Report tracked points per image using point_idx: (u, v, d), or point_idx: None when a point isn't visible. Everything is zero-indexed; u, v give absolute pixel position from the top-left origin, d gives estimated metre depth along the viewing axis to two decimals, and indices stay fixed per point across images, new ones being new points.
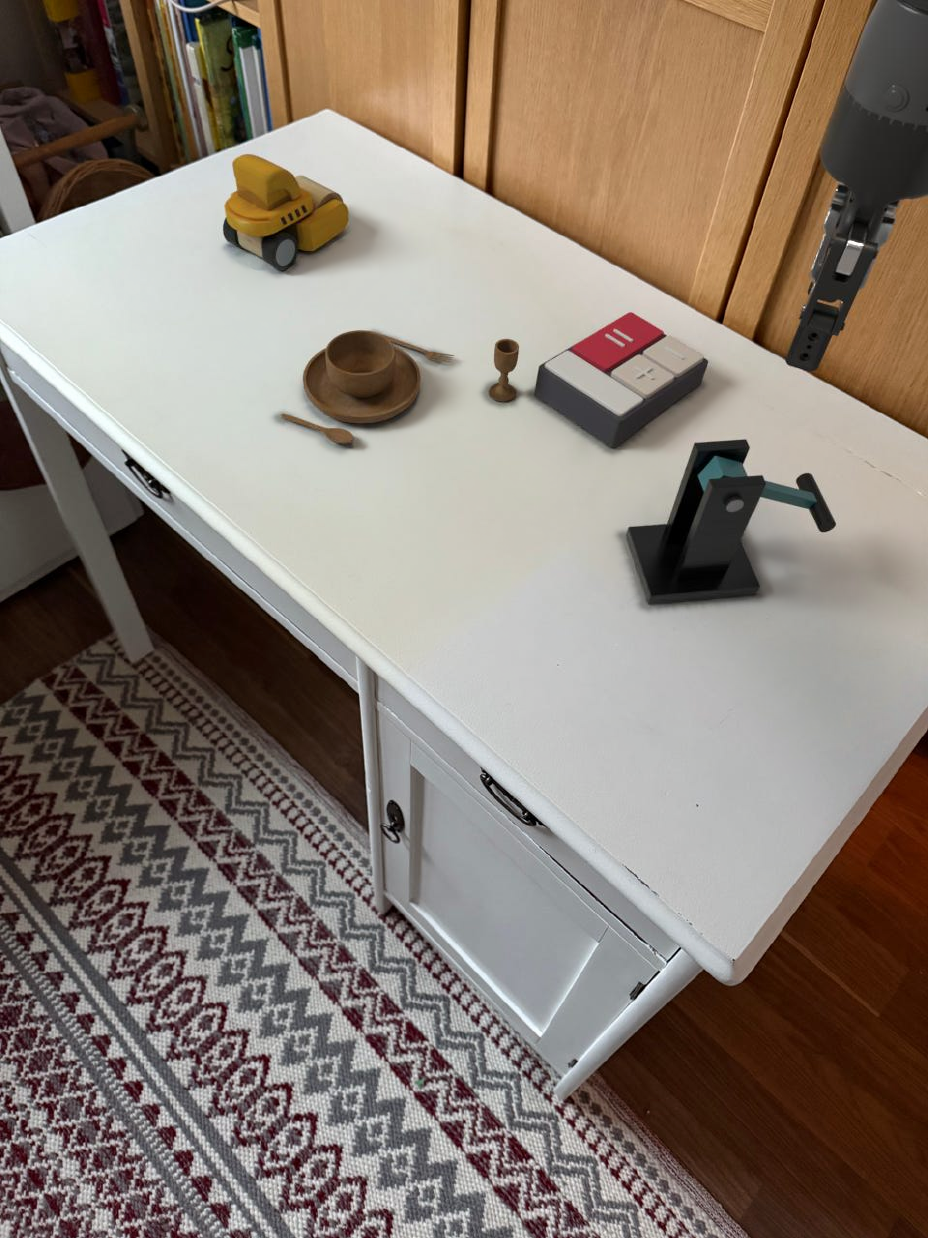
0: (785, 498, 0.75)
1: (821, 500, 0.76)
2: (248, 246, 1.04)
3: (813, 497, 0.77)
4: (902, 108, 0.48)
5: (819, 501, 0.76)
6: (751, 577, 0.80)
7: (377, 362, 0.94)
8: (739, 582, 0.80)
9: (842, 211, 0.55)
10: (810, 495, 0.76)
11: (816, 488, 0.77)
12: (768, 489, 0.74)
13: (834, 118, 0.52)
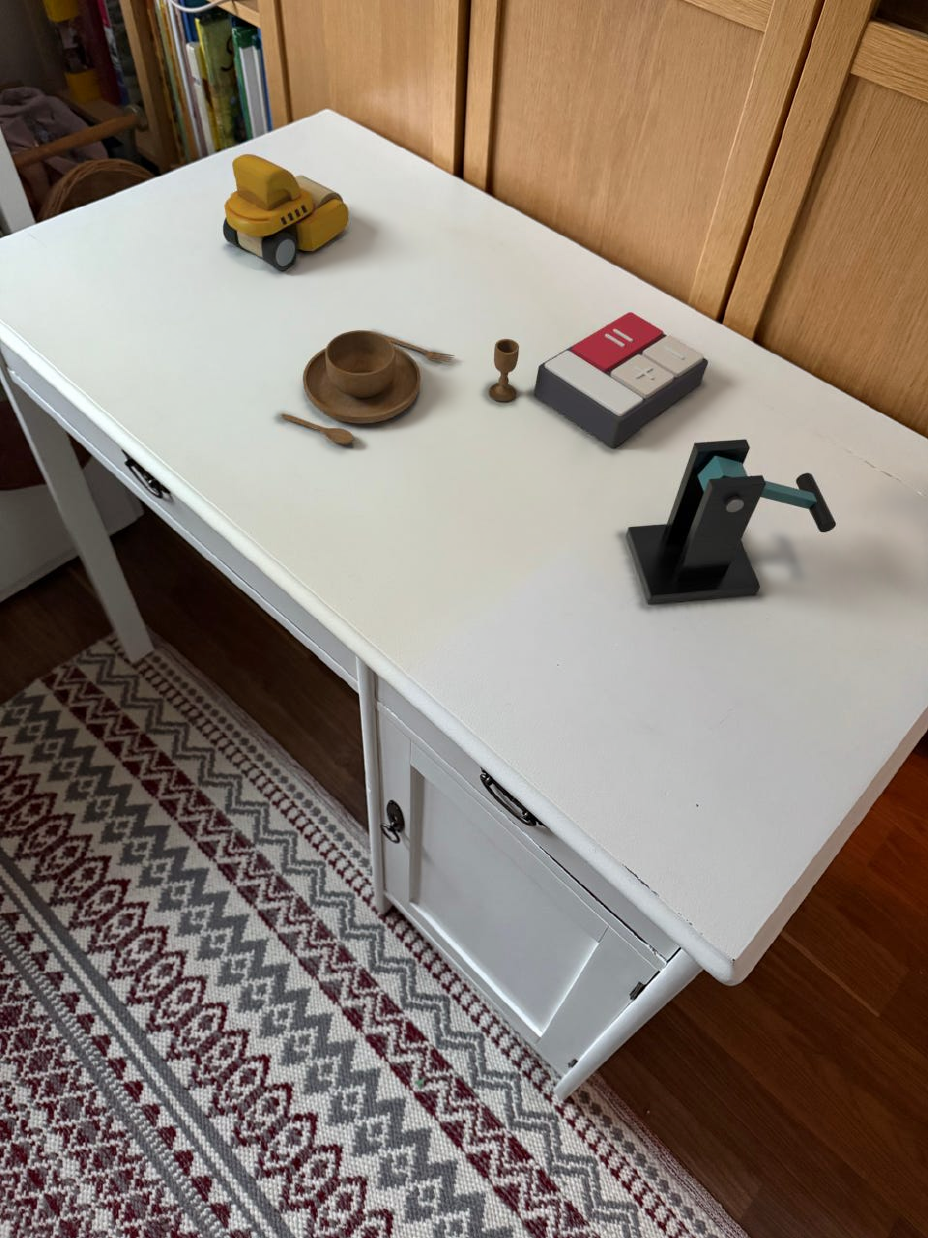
0: (785, 498, 0.75)
1: (821, 500, 0.76)
2: (248, 246, 1.04)
3: (813, 497, 0.77)
4: None
5: (819, 501, 0.76)
6: (751, 577, 0.80)
7: (377, 362, 0.94)
8: (739, 582, 0.80)
9: None
10: (810, 495, 0.76)
11: (816, 488, 0.77)
12: (768, 489, 0.74)
13: None
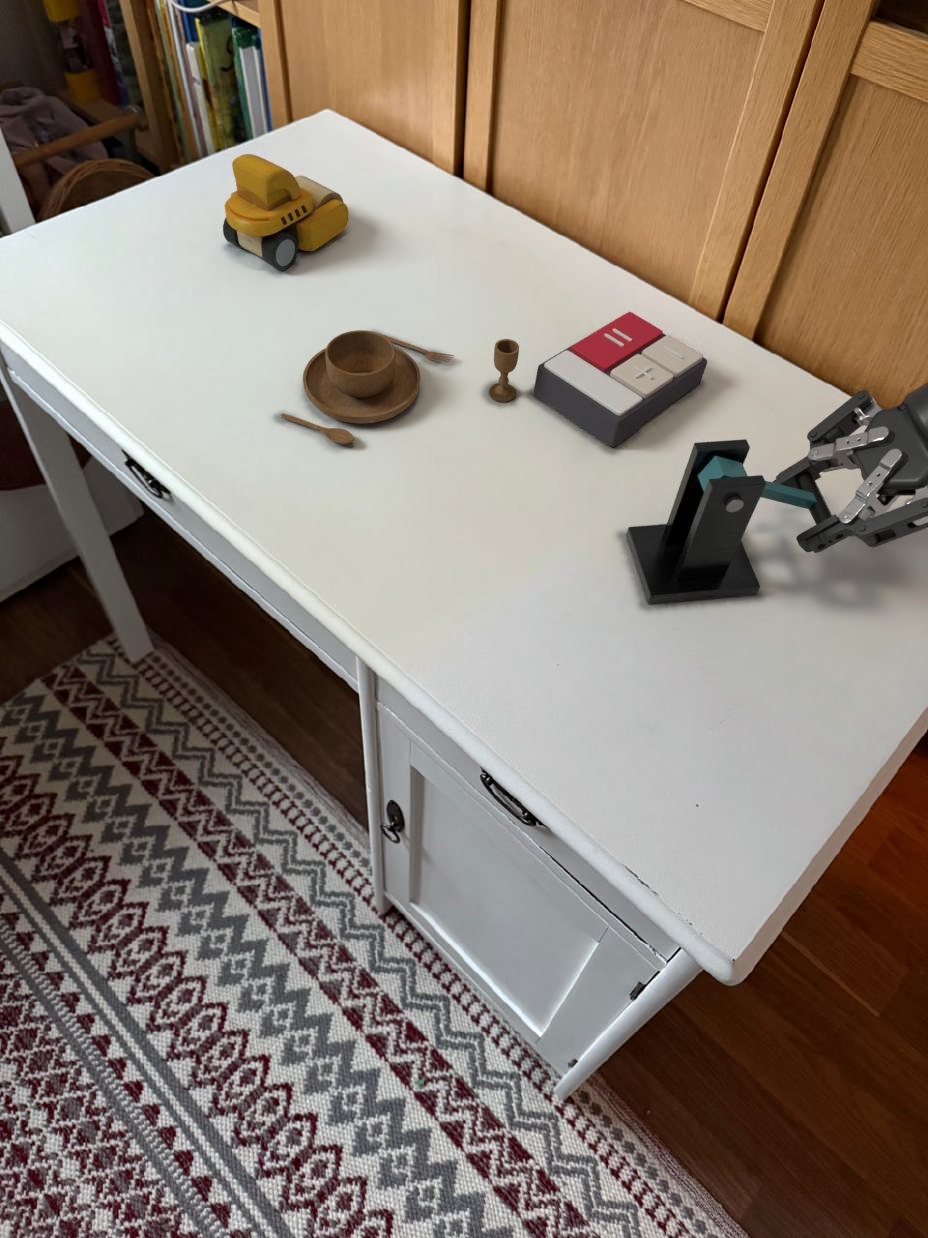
0: (785, 498, 0.75)
1: (821, 500, 0.76)
2: (248, 246, 1.04)
3: (813, 497, 0.77)
4: None
5: (819, 501, 0.76)
6: (751, 577, 0.80)
7: (377, 362, 0.94)
8: (739, 582, 0.80)
9: (905, 461, 0.72)
10: (810, 495, 0.76)
11: (816, 488, 0.77)
12: (768, 489, 0.74)
13: None
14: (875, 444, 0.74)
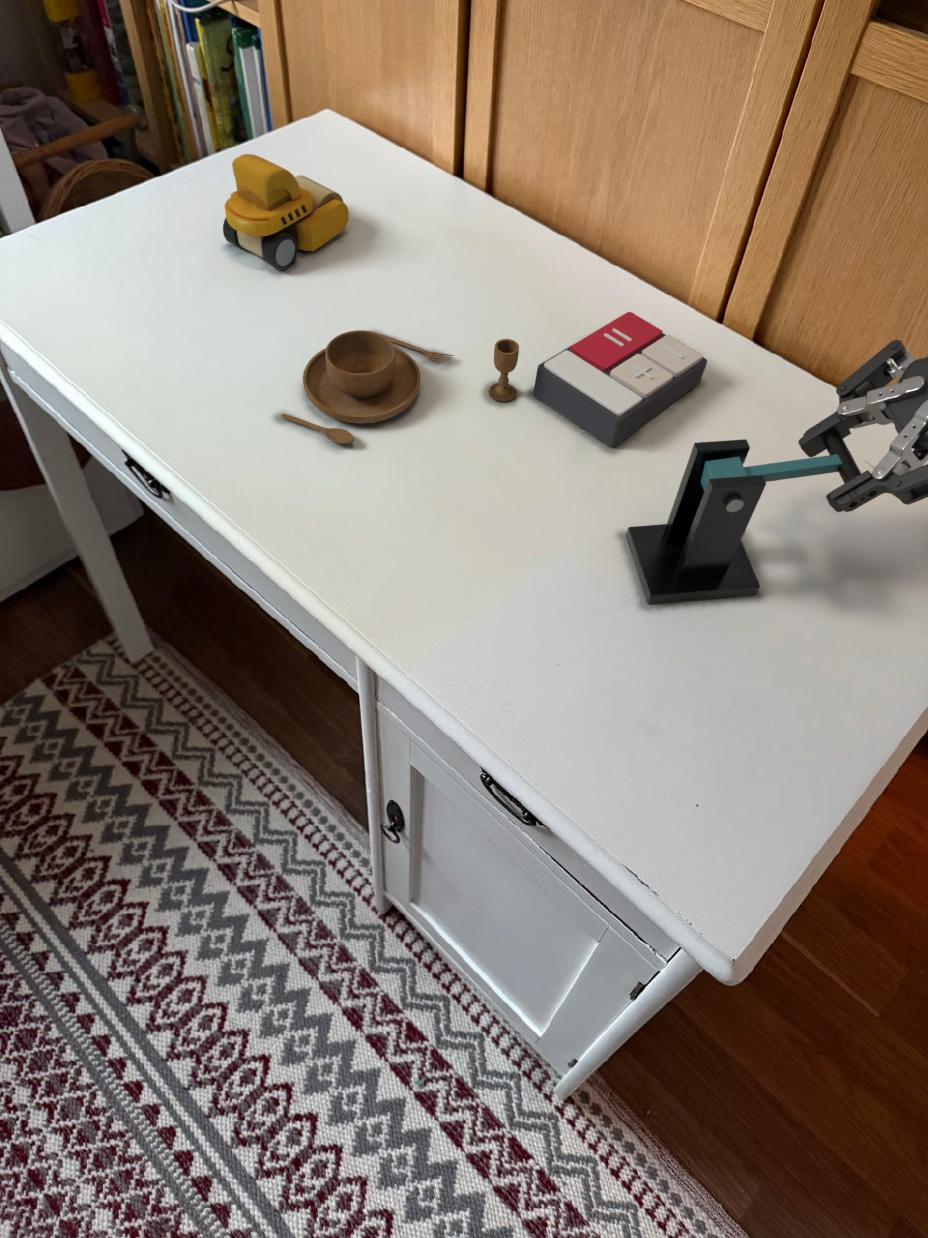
0: (802, 472, 0.73)
1: (846, 460, 0.73)
2: (248, 246, 1.04)
3: (837, 459, 0.73)
4: None
5: (844, 462, 0.73)
6: (751, 577, 0.80)
7: (377, 362, 0.94)
8: (739, 582, 0.80)
9: None
10: (833, 458, 0.73)
11: (842, 447, 0.73)
12: (776, 472, 0.73)
13: None
14: (910, 395, 0.70)
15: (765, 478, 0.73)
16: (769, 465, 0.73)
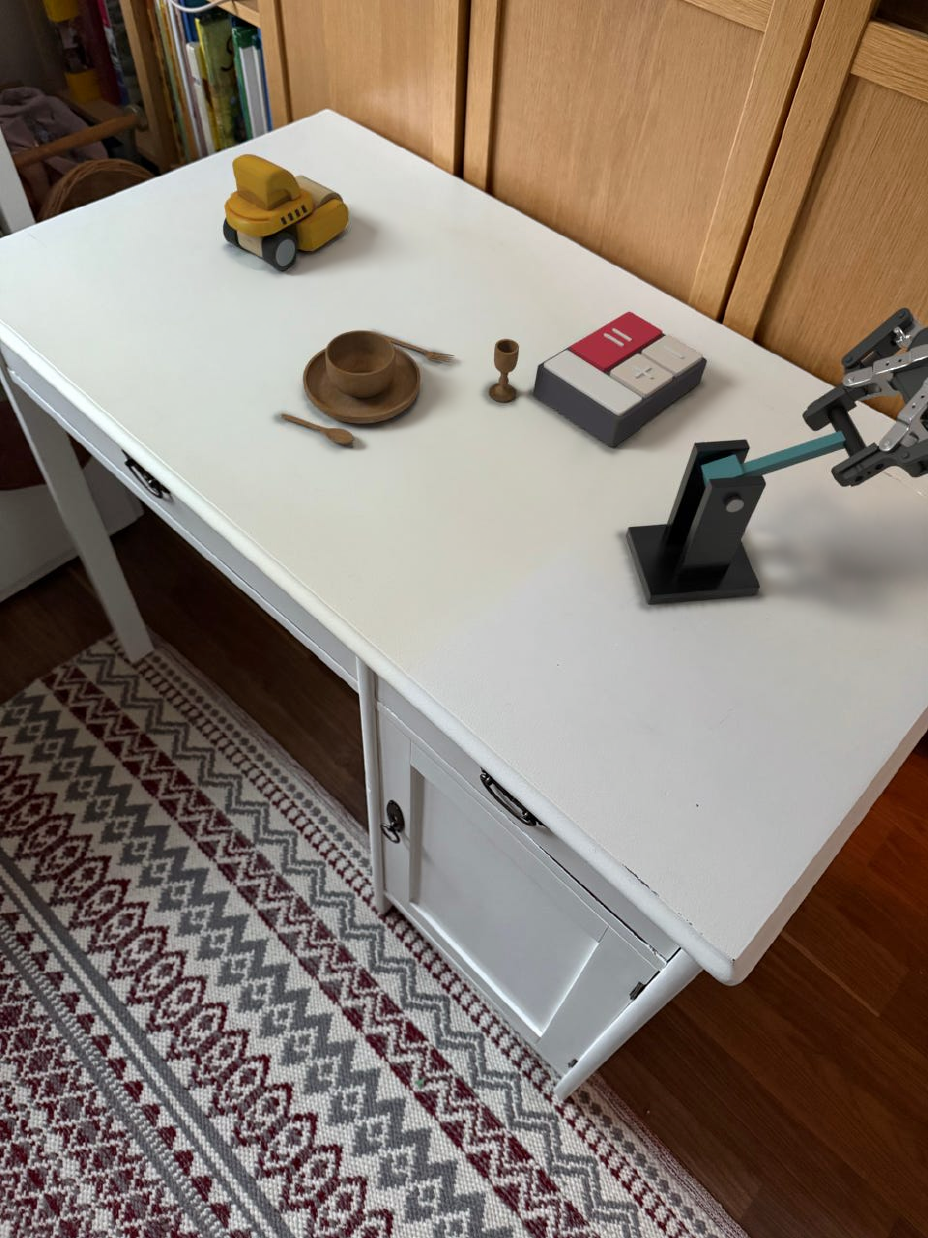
0: (805, 457, 0.71)
1: (850, 436, 0.70)
2: (248, 246, 1.04)
3: (841, 436, 0.71)
4: None
5: (847, 438, 0.70)
6: (751, 577, 0.80)
7: (377, 362, 0.94)
8: (739, 582, 0.80)
9: None
10: (836, 436, 0.71)
11: (844, 422, 0.71)
12: (776, 462, 0.72)
13: None
14: (918, 364, 0.67)
15: (766, 470, 0.72)
16: (768, 456, 0.72)
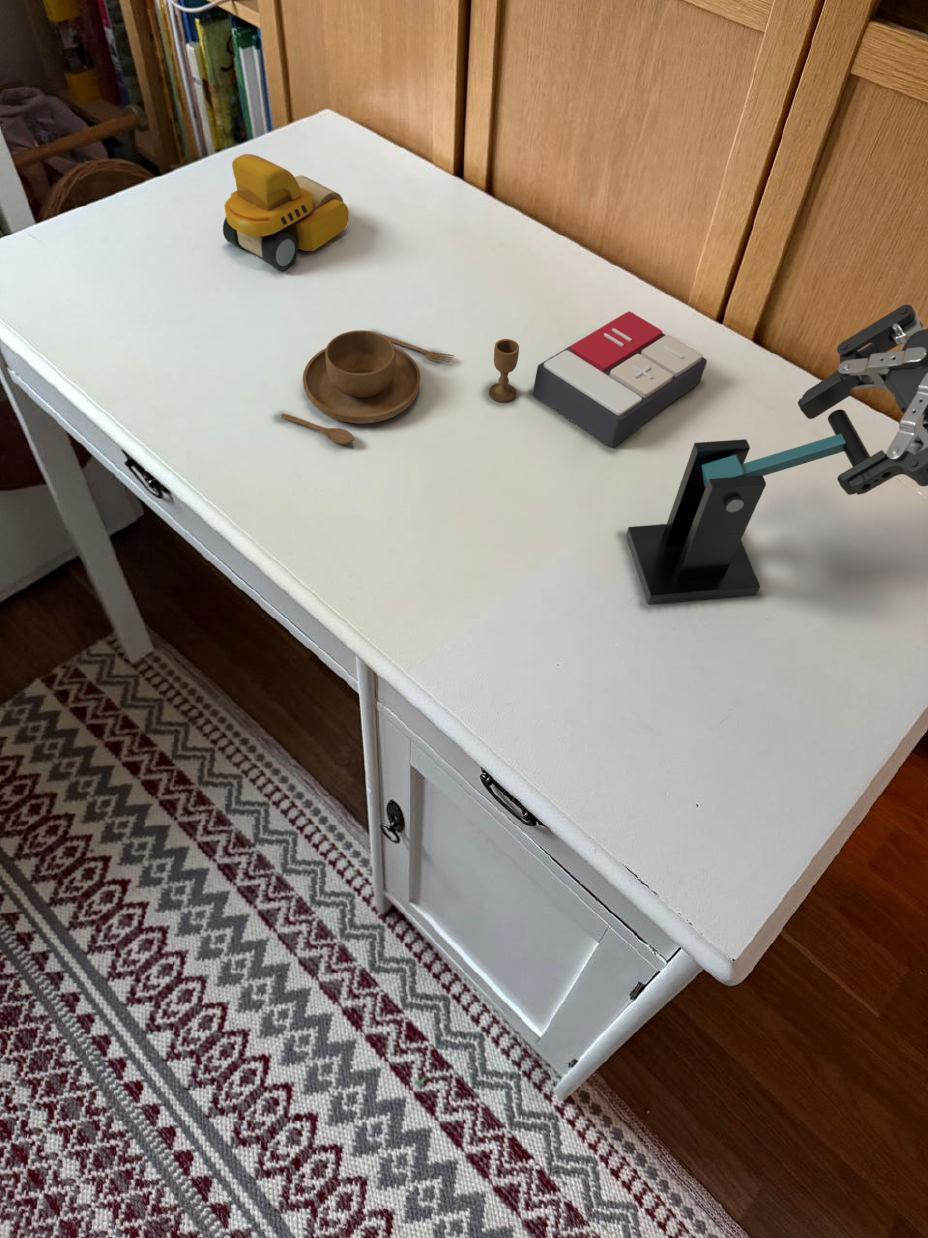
0: (805, 459, 0.72)
1: (850, 439, 0.71)
2: (248, 246, 1.04)
3: (841, 439, 0.71)
4: None
5: (848, 441, 0.71)
6: (751, 577, 0.80)
7: (377, 362, 0.94)
8: (739, 582, 0.80)
9: None
10: (836, 439, 0.71)
11: (845, 425, 0.71)
12: (776, 463, 0.72)
13: None
14: (909, 366, 0.67)
15: (766, 471, 0.72)
16: (769, 457, 0.72)
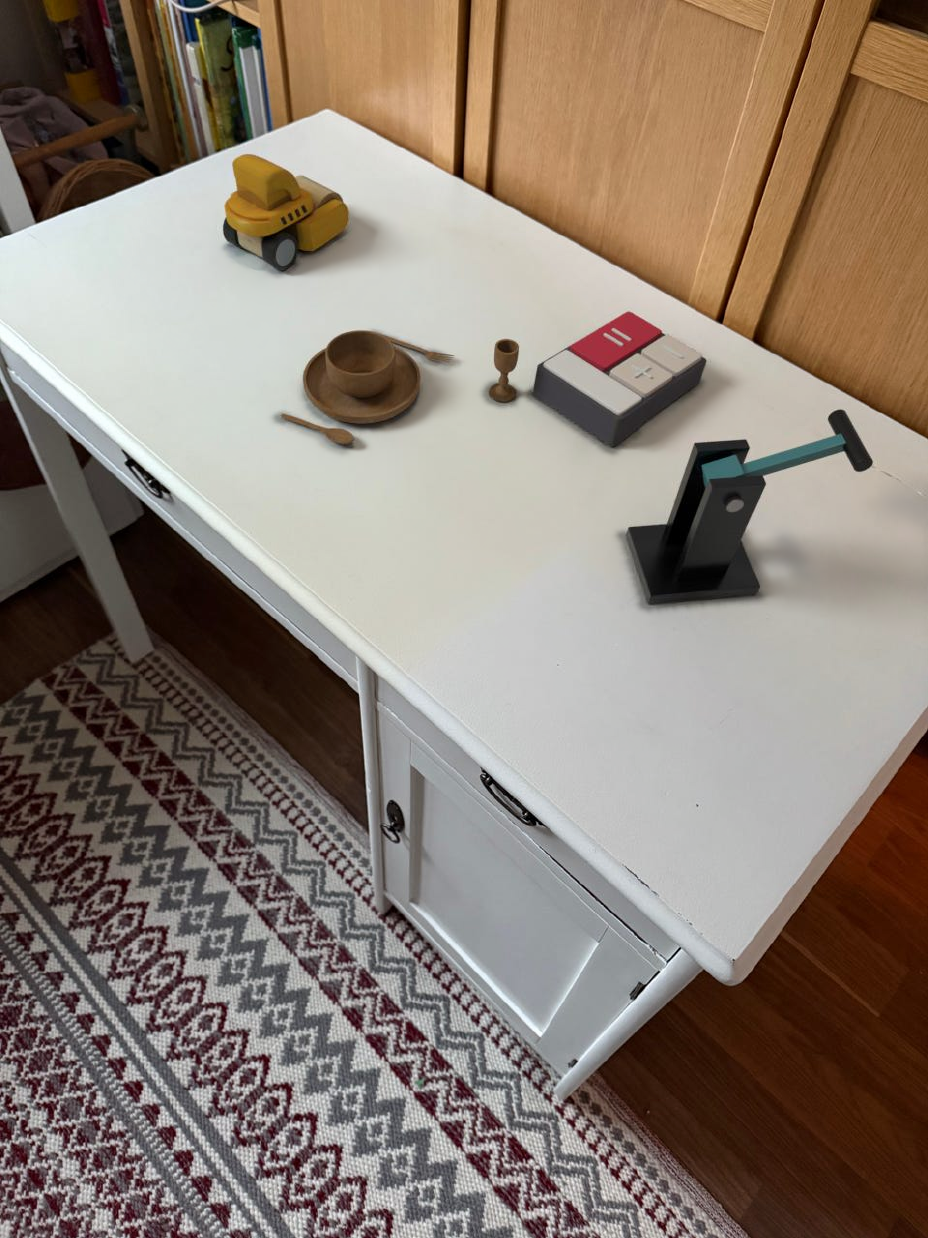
0: (805, 459, 0.72)
1: (850, 439, 0.71)
2: (248, 246, 1.04)
3: (841, 439, 0.71)
4: None
5: (848, 441, 0.71)
6: (751, 577, 0.80)
7: (377, 362, 0.94)
8: (739, 582, 0.80)
9: None
10: (836, 439, 0.71)
11: (845, 425, 0.71)
12: (776, 463, 0.72)
13: None
14: None
15: (766, 471, 0.72)
16: (769, 457, 0.72)
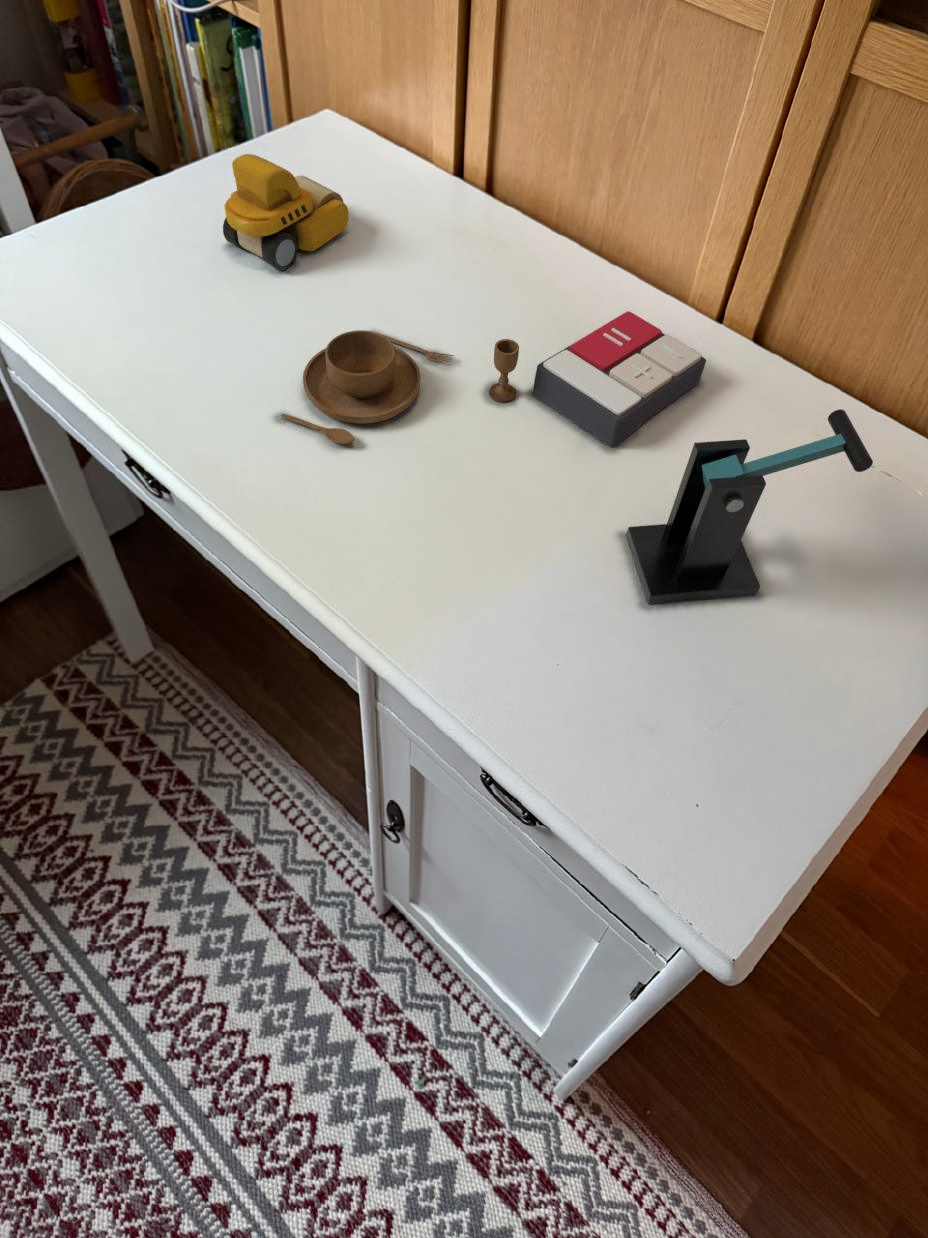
0: (805, 459, 0.72)
1: (850, 439, 0.71)
2: (248, 246, 1.04)
3: (841, 439, 0.71)
4: None
5: (848, 441, 0.71)
6: (751, 577, 0.80)
7: (377, 362, 0.94)
8: (739, 582, 0.80)
9: None
10: (836, 439, 0.71)
11: (845, 425, 0.71)
12: (776, 463, 0.72)
13: None
14: None
15: (766, 471, 0.72)
16: (769, 457, 0.72)
